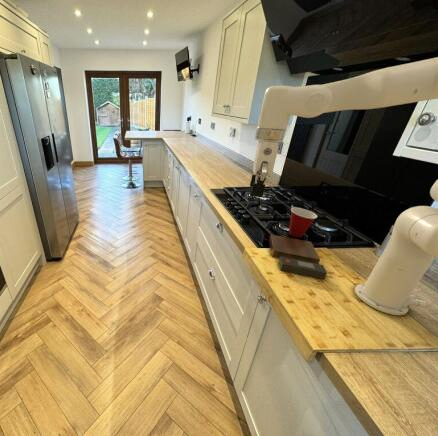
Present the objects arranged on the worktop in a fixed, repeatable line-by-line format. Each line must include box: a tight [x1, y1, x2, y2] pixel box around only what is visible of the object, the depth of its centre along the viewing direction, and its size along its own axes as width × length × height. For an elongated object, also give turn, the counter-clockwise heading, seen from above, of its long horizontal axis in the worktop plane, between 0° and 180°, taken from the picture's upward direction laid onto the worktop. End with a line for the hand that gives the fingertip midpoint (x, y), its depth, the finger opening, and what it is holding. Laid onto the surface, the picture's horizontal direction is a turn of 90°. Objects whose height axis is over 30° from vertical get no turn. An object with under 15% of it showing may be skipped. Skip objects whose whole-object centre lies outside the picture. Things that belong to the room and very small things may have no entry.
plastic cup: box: [288, 207, 318, 238], centre depth 110 cm, size 11×11×12 cm
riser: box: [268, 234, 321, 264], centre depth 98 cm, size 16×14×3 cm
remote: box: [278, 257, 328, 281], centre depth 86 cm, size 14×5×3 cm, turn 70°
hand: (255, 191), depth 75 cm, fingers open, 9 cm apart
